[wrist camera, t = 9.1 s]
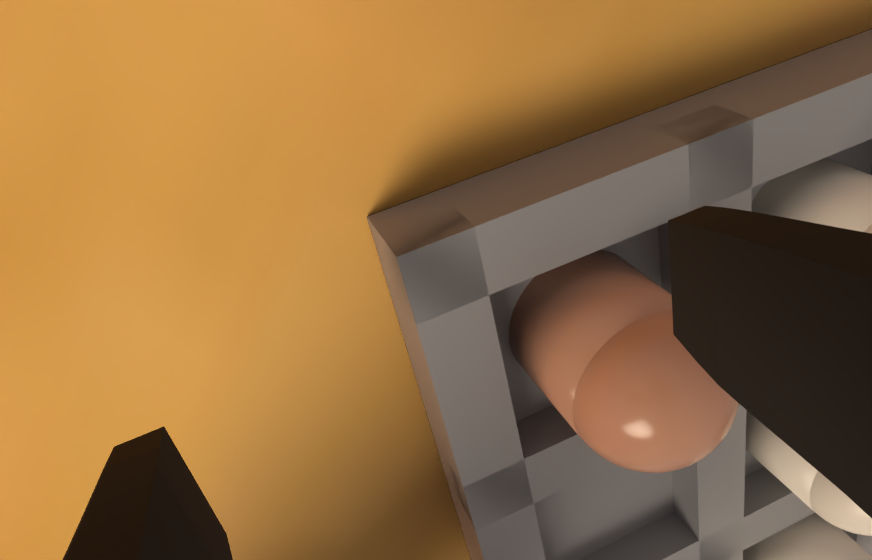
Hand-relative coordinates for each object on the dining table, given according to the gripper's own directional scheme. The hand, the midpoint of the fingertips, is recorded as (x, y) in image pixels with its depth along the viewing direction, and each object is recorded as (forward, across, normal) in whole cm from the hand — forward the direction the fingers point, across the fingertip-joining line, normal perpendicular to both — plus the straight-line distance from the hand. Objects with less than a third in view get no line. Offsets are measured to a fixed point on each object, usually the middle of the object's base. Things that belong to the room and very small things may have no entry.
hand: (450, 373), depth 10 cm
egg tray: (+9, -10, +15) cm, 20 cm away
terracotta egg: (+8, -6, +7) cm, 12 cm away
